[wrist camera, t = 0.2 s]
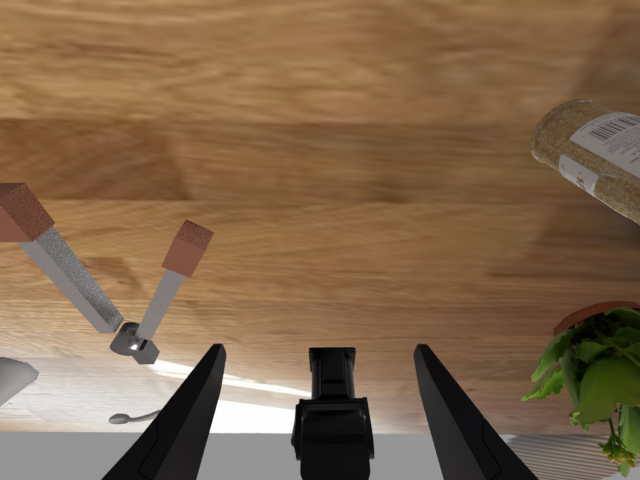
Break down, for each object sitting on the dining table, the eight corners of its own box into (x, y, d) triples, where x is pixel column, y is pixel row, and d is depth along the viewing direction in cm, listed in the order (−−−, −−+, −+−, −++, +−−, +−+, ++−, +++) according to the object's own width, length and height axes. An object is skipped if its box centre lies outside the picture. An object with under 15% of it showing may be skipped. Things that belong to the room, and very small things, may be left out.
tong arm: (153, 340, 37) (143, 361, 35) (120, 330, 36) (107, 351, 33) (214, 232, 26) (204, 252, 23) (168, 211, 24) (153, 230, 22)
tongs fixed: (159, 351, 39) (151, 370, 37) (134, 351, 39) (124, 370, 37) (37, 182, 22) (9, 199, 20) (-8, 183, 22) (-40, 200, 20)
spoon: (107, 412, 54) (102, 424, 53) (164, 401, 53) (160, 413, 52) (118, 418, 56) (113, 429, 55) (173, 407, 55) (169, 419, 53)
